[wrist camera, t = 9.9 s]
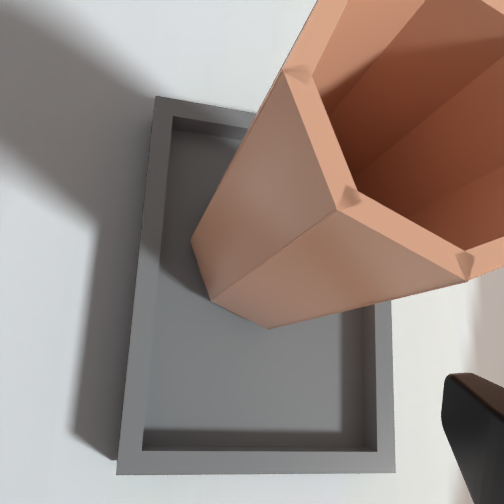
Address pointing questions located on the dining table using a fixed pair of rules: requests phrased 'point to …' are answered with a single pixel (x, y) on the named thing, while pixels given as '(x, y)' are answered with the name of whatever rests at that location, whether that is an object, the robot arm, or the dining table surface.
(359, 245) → the cup
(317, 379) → the tray
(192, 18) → the dining table surface
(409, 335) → the dining table surface
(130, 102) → the dining table surface
